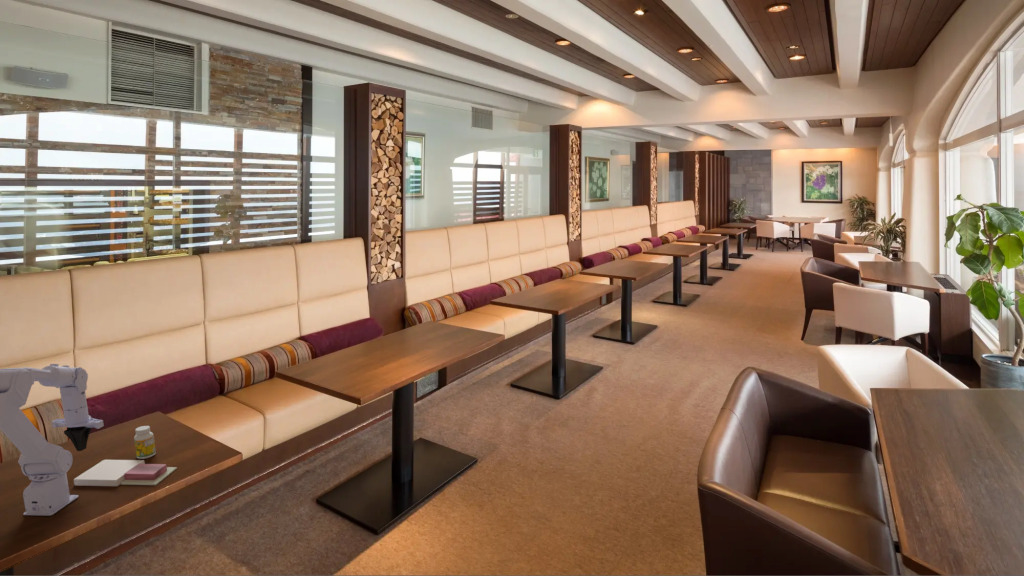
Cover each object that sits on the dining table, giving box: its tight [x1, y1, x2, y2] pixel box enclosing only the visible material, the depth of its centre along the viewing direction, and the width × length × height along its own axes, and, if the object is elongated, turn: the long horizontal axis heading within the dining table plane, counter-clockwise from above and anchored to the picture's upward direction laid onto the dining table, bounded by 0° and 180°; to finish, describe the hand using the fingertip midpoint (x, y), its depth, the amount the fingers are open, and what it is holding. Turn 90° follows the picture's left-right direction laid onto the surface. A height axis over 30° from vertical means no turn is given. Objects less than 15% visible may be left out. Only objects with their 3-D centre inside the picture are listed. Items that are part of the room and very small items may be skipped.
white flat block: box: [73, 459, 146, 487], centre depth 171 cm, size 12×13×2 cm
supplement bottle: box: [133, 425, 157, 460], centre depth 183 cm, size 5×5×10 cm
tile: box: [124, 463, 168, 480], centre depth 171 cm, size 6×9×2 cm, turn 87°
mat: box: [120, 466, 178, 486], centre depth 171 cm, size 10×11×1 cm
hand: (81, 449), depth 168 cm, fingers closed
